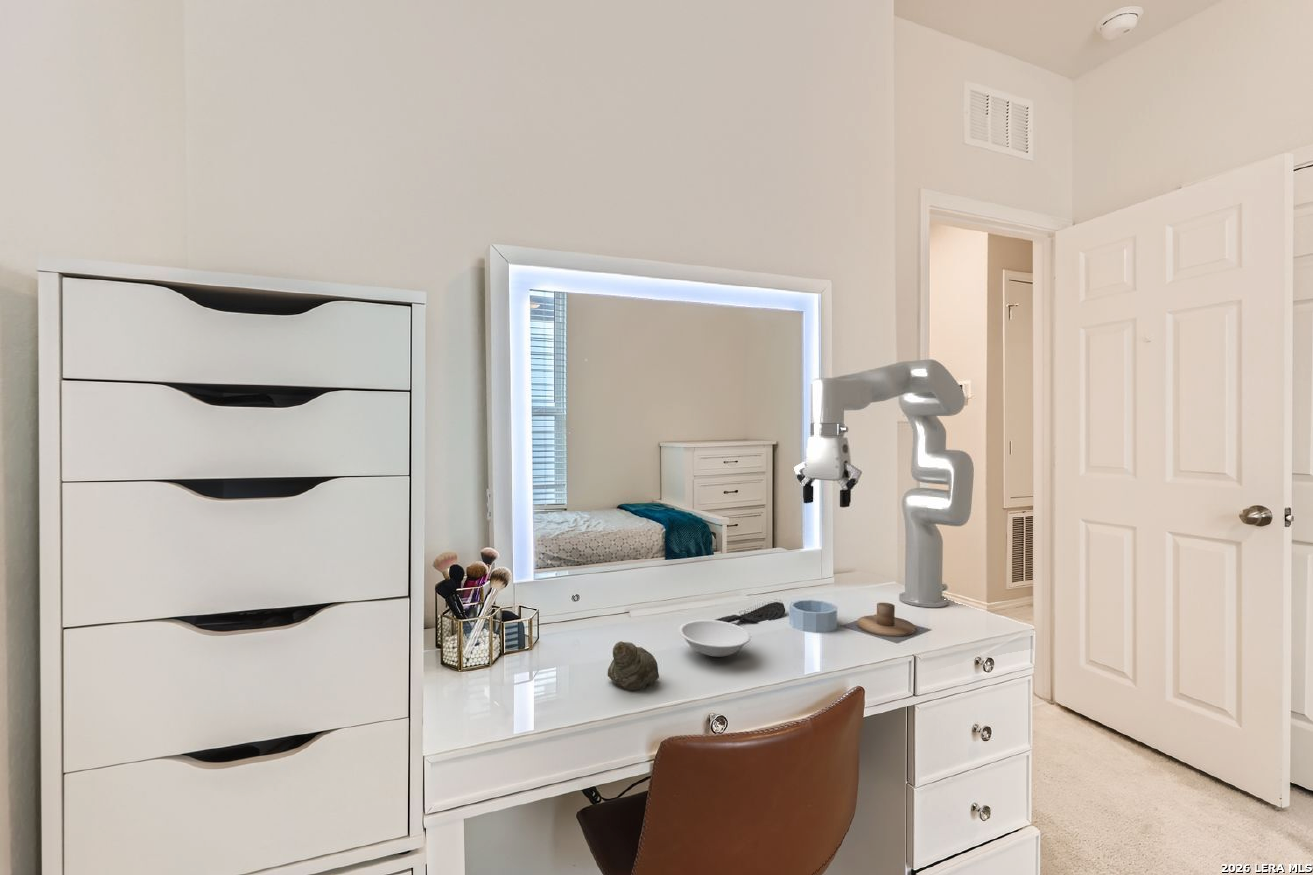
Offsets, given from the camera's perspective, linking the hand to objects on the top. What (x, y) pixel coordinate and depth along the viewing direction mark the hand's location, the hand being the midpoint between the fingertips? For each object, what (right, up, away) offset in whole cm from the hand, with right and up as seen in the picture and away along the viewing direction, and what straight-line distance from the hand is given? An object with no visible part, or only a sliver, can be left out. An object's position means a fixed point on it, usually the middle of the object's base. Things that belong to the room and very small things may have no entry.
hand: (826, 504), depth 145 cm
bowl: (-1, -30, +6) cm, 31 cm away
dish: (-27, -31, -13) cm, 43 cm away
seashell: (-42, -31, -26) cm, 59 cm away
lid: (+15, -30, +4) cm, 34 cm away
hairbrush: (-17, -31, +10) cm, 37 cm away
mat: (+15, -30, +4) cm, 34 cm away
